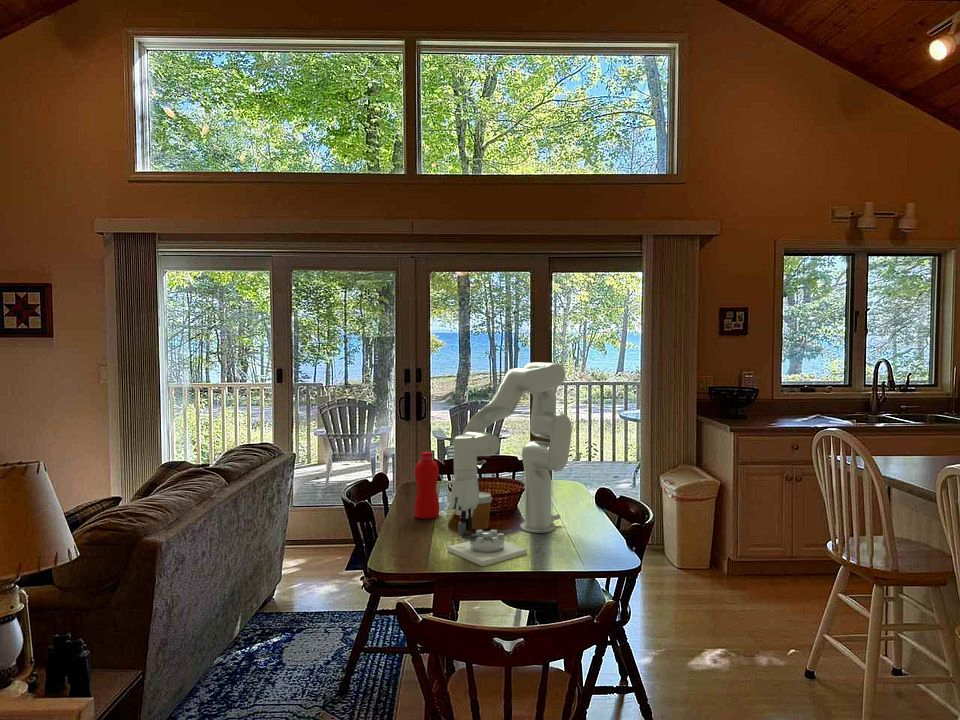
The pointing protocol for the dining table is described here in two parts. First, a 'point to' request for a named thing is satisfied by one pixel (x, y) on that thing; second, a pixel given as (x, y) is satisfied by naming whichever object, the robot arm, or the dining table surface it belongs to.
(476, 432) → the robot arm
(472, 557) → the base plate
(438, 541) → the dining table surface
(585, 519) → the dining table surface
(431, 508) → the water bottle
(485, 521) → the disposable coffee cup
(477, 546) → the silver lever knob
